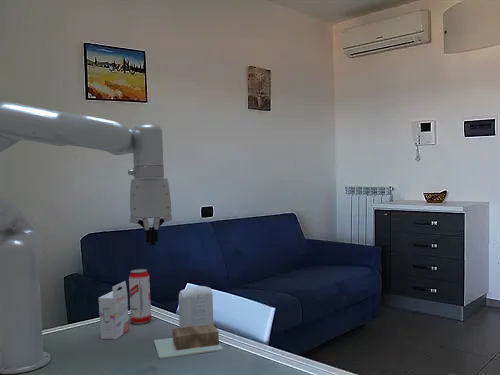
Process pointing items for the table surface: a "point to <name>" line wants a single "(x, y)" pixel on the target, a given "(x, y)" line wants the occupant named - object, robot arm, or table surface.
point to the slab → (195, 337)
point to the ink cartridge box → (114, 312)
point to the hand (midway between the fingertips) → (152, 244)
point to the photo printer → (195, 306)
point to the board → (168, 350)
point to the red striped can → (139, 296)
